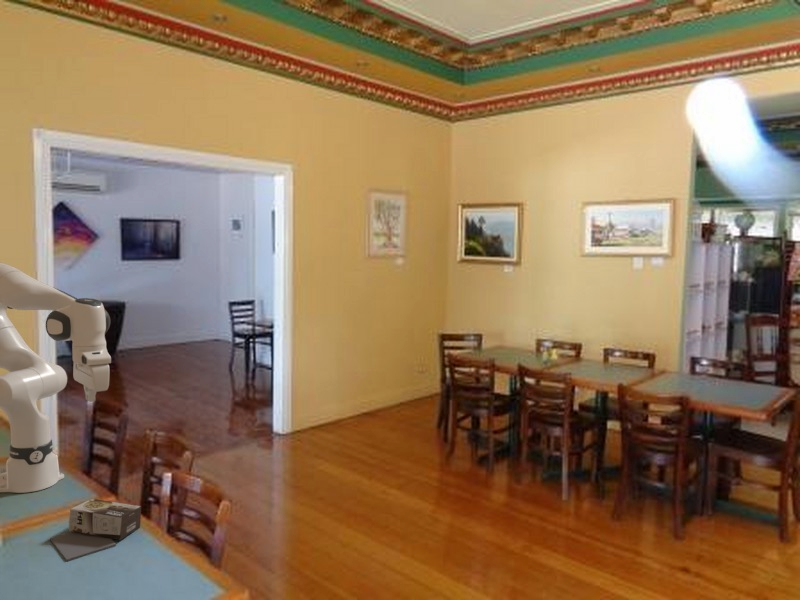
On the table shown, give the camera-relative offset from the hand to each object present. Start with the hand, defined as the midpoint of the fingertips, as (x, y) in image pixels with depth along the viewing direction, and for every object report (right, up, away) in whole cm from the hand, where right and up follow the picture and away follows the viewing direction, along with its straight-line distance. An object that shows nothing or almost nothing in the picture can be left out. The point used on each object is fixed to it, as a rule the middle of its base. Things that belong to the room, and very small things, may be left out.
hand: (90, 400), depth 175 cm
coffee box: (+1, -31, -7) cm, 32 cm away
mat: (+6, -36, -15) cm, 39 cm away
